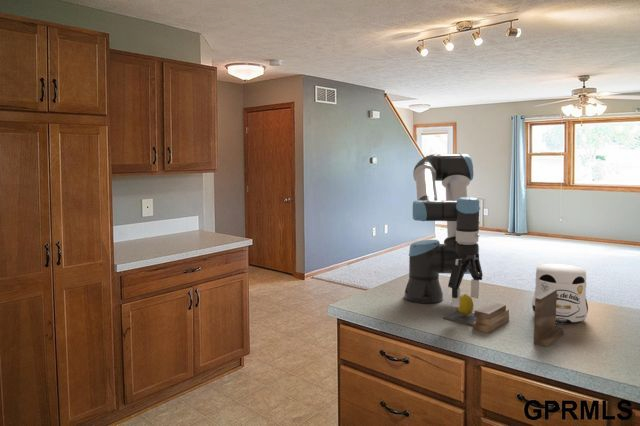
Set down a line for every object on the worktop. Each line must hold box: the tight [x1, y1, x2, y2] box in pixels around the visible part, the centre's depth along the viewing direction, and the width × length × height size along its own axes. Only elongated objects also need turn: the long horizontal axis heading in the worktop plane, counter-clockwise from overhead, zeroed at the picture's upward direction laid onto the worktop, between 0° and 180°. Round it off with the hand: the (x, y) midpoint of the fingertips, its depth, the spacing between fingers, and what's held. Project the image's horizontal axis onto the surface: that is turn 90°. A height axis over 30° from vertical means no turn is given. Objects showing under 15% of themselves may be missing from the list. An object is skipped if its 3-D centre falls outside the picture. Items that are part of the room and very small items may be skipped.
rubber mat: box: [442, 309, 476, 327], centre depth 166 cm, size 11×11×1 cm
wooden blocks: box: [472, 289, 565, 348], centre depth 153 cm, size 23×16×14 cm
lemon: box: [456, 293, 474, 316], centre depth 166 cm, size 6×6×8 cm
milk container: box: [531, 263, 589, 325], centre depth 163 cm, size 17×17×18 cm
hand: (465, 302), depth 166 cm, fingers open, 13 cm apart
